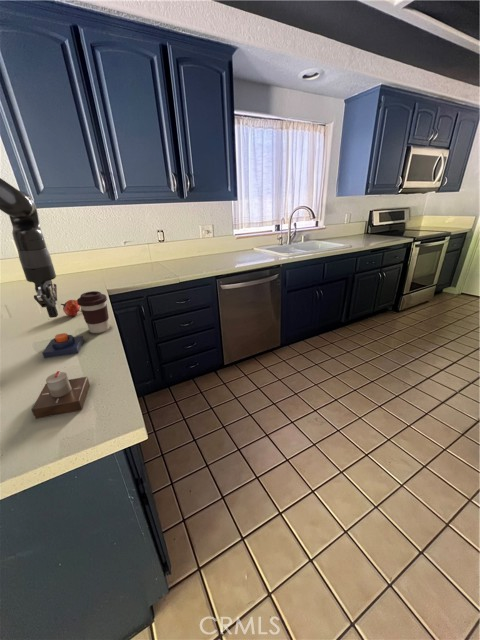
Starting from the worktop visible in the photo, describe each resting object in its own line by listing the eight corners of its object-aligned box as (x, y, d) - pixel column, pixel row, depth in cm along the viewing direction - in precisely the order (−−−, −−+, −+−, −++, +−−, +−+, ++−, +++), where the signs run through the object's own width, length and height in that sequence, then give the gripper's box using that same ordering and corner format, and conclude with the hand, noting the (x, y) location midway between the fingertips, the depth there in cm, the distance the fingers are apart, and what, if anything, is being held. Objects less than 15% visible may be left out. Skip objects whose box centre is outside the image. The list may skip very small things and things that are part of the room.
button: (54, 343, 88) (53, 338, 88) (58, 338, 91) (56, 334, 91) (66, 341, 89) (65, 337, 89) (69, 337, 92) (68, 332, 92)
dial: (69, 395, 66) (64, 379, 64) (49, 399, 65) (42, 383, 63) (73, 384, 70) (68, 369, 68) (53, 388, 69) (48, 372, 67)
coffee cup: (86, 337, 99) (76, 300, 93) (84, 327, 107) (75, 292, 101) (115, 331, 104) (106, 295, 98) (111, 322, 112) (103, 288, 105)
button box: (44, 358, 87) (40, 348, 85) (53, 345, 94) (49, 335, 93) (78, 353, 89) (75, 343, 88) (84, 340, 97) (81, 331, 95)
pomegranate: (80, 315, 124) (56, 306, 117) (88, 302, 123) (64, 293, 116) (81, 322, 118) (56, 314, 112) (89, 309, 117) (64, 300, 111)
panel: (35, 419, 63) (31, 409, 62) (49, 392, 72) (45, 382, 70) (82, 409, 66) (78, 400, 64) (89, 385, 74) (87, 376, 73)
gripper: (31, 260, 84) (47, 310, 91) (12, 270, 72) (32, 326, 80) (58, 258, 86) (72, 308, 93) (44, 268, 75) (61, 323, 82)
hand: (54, 316), depth 86 cm, fingers closed
